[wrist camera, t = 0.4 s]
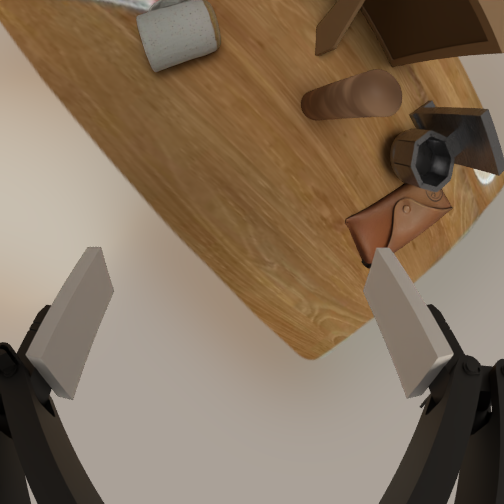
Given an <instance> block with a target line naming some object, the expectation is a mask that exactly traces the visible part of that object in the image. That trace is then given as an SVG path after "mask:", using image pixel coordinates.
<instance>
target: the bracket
mask: <svg viewBox="0 0 504 504" xmlns="http://www.w3.org/2000/svg"><path fill="white" fill-rule="evenodd" d="M410 117H411V119H412V121H413V123H414V125H415V127H416V129H410V130H407V131H404V132H402V133H400V134H399V135H398V136H397V137H396V138H395V140H394V141H393V143H392V146H391V150H390V162H391V166H392V169H393V171H394V173H395V174H396V176H397V177H398V178H399V179H400V180H402V182H404V183H407V184H410V185H413V186H416V187H419V188H422V189H425V190H429V191H432V192H438V191H439V190H440V189H441V188H443V187H444V186H445V185H446V184H447V183H448V182H449V181H450V179H451V176H452V171H453V166H454V163H455V164H459V165H463V166H467V167H470V168H474V169H478V170H481V171H485V172H489V173H492V174H495V175H500V174H501V173H502V172H503V171H504V157H503V153H502V150H501V146H500V143H499V140H498V136H497V133H496V130H495V127H494V124H493V121H492V118H491V115H490V113H489V110H488V109H478V108H451V107H435V105H434V103H433V101H428V102H427V103H425V104H424V105H422V106H421V107H420V108H418V109H417V110H415V111H414V112H413V113H411V114H410Z"/></svg>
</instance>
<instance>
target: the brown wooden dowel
mask: <svg viewBox="0 0 504 504" xmlns="http://www.w3.org/2000/svg"><path fill="white" fill-rule="evenodd" d="M401 103H402V91H401V88H400V85H399V83H398V82H397V80H396V79H395V78H394V77H393V76H392V75H391V74H390V73H388V72H387V71H384V70H380V69H375V70H371V71H367V72H364V73H361V74H358V75H355V76H352V77H349V78H346V79H343V80H340V81H337V82H334V83H331V84H328V85H326V86H323V87H320V88H317V89H315V90H312V91H310V92H308V93H306V94H305V95H304V96H303V98H302V101H301V108H302V111H303V113H304V114H305V115H306V116H307V117H308V118H310V119H312V120H328V119H342V118H360V117H388V116H391V115H393V114H395V113H396V112H397V111H398V110H399V108H400V106H401Z"/></svg>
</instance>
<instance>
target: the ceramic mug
mask: <svg viewBox="0 0 504 504" xmlns="http://www.w3.org/2000/svg"><path fill="white" fill-rule="evenodd" d="M168 6H169V7H168ZM164 7H165V8H164ZM136 19H137V25H138V29H139V33H140V37H141V40H142V43H143V46H144V50H145V53H146V55H147V57H148V60H149V63H150V65H151V67H152V69H153V71H154V72H158V71H160V70H163V69H166V68H168V67H171V66H174V65H177V64H180V63H183V62H185V61H188V60H191V59H194V58H198V57H201V56H204V55H207V54H209V53H212V52H214V51H216V50H217V49H218V48H219V47H220V44H221V36H220V30H219V25H218V22H217V18H216V15H215V12H214V10H213V8H212V6H211V4H210V3H209V2H208V1H206V0H159V1H157V2H156V3H154V4H153V5H152V6H151V8H150V9H149V11H148V12H147V13H144V14H141V15H139V16H137V18H136Z"/></svg>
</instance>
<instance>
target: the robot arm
mask: <svg viewBox="0 0 504 504" xmlns="http://www.w3.org/2000/svg"><path fill="white" fill-rule="evenodd" d="M113 292H114V289H113V286H112V283H111V280H110V276H109V273H108V270H107V266H106V263H105V260H104V256H103V252H102V249H101V247H88V248H87V249H86V251H85V252H84V254H83V255H82V257H81V258H80V260H79V261H78V263H77V264H76V266H75V267H74V269H73V270H72V272H71V273H70V275H69V277H68V278H67V280H66V282H65V283H64V285H63V286H62V288H61V290H60V291H59V293H58V295H57V297H56V298H55V300H54V302H53V304H52V305H46V306H45V307H44V308H43V309H42V310H41V311H40V312H39V313H38V314H37V316H36V318H35V320H34V321H33V324H32V325H31V327H30V330H29V331H28V332H27V334H26V336H25V338H24V340H23V342H22V344H21V346H20V348H19V350H18V352H17V354H16V353H15V351H14V350H13V348H12V347H11V346H10V345H9V344H8V343H4V342H2V343H0V504H31V501H30V497H29V493H28V488H27V483H26V478H27V481H28V483H29V486H30V488H31V490H32V493H33V495H34V497H35V499H36V501H37V504H104V502H103V501H102V499H101V497H100V496H99V494H98V493H97V491H96V489H95V488H94V486H93V484H92V482H91V481H90V479H89V477H88V475H87V474H86V472H85V470H84V468H83V466H82V464H81V463H80V461H79V459H78V457H77V455H76V453H75V451H74V449H73V447H72V445H71V443H70V440H69V438H68V436H67V434H66V431H65V429H64V427H63V425H62V422H61V420H60V418H59V415H58V413H57V410H56V408H55V405H54V403H53V400H52V398H51V397H50V392H51V389H52V390H53V391H54V392H55V393H56V395H57V396H59V397H63V398H67V399H71V400H73V398H74V395H75V392H76V388H77V386H78V383H79V380H80V377H81V374H82V371H83V368H84V365H85V362H86V360H87V357H88V354H89V351H90V349H91V346H92V343H93V341H94V338H95V336H96V333H97V331H98V328H99V326H100V323H101V321H102V318H103V316H104V313H105V311H106V309H107V306H108V304H109V302H110V299H111V297H112V295H113ZM363 292H364V294H365V297H366V299H367V301H368V303H369V305H370V308H371V310H372V312H373V315H374V317H375V319H376V321H377V323H378V326H379V328H380V331H381V333H382V336H383V338H384V340H385V343H386V345H387V348H388V350H389V353H390V355H391V358H392V360H393V363H394V365H395V368H396V370H397V373H398V376H399V378H400V381H401V384H402V387H403V389H404V392H405V395H406V398H411V397H416V396H419V395H422V394H423V393H424V392H425V390H426V389H427V388H428V387H429V389H430V392H431V394H430V395H429V396H428V397H427V398H426V399H425V400H424V402H423V403H422V404H421V406H420V407H421V408H422V407H423V406H424V405H425V407H424V410H423V412H422V415H421V418H420V420H419V422H418V425H417V427H416V430H415V432H414V435H413V437H412V439H411V442H410V444H409V446H408V448H407V451H406V453H405V455H404V457H403V459H402V461H401V463H400V465H399V468H398V469H397V471H396V474H395V475H394V477H393V479H392V481H391V483H390V485H389V486H388V488H387V490H386V492H385V494H384V495H383V497H382V499H381V500H380V502H379V504H447V502H448V499H449V497H450V494H451V492H452V489H453V487H454V484H455V481H456V479H457V476H458V473H459V479H458V485H457V492H456V497H455V503H454V504H504V359H500V360H499V361H497V363H496V364H495V365H494V366H493V367H491V366H481V365H480V363H479V362H478V361H477V360H476V359H475V358H474V357H472V356H468V355H465V354H464V352H463V351H462V349H461V347H460V345H459V343H458V341H457V340H456V338H455V336H454V334H453V332H452V331H451V330H450V327H449V326H448V324H447V323H446V322H445V319H444V317H443V315H442V314H441V312H440V311H439V310H438V309H437V308H436V307H434V306H433V305H432V304H430V305H426V303H425V302H424V300H423V298H422V297H421V295H420V294H419V292H418V290H417V289H416V287H415V285H414V284H413V282H412V281H411V279H410V277H409V276H408V274H407V273H406V271H405V270H404V268H403V267H402V265H401V264H400V262H399V261H398V259H397V258H396V256H395V255H394V253H393V252H392V250H391V249H390V248H376V251H375V254H374V258H373V261H372V265H371V268H370V271H369V274H368V278H367V281H366V284H365V287H364V290H363ZM491 406H492V412H491ZM459 470H460V472H459ZM25 476H26V478H25Z"/></svg>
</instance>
